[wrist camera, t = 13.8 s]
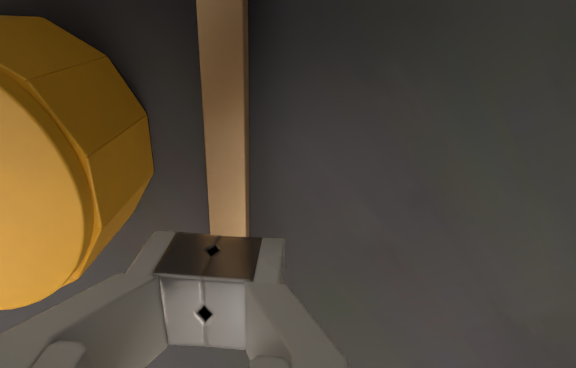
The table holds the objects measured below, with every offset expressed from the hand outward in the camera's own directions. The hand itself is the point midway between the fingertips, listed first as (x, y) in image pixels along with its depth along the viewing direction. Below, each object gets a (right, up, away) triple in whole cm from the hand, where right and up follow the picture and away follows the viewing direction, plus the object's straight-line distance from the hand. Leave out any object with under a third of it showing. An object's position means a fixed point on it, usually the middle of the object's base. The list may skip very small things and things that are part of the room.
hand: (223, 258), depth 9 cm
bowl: (-9, +1, +2) cm, 9 cm away
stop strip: (-1, +3, +6) cm, 7 cm away
